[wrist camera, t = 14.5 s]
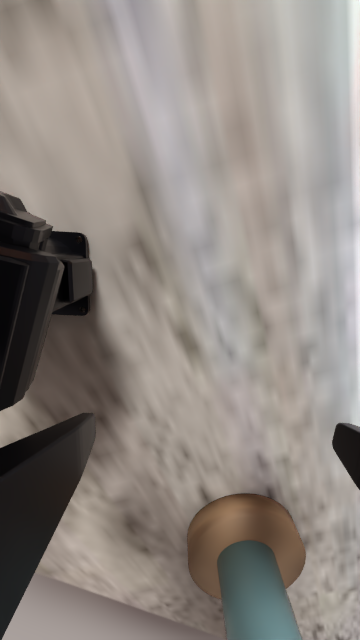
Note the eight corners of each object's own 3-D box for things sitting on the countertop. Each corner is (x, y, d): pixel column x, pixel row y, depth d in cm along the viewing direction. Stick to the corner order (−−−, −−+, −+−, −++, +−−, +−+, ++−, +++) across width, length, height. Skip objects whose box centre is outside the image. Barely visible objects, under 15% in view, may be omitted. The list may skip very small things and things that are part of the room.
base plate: (184, 572, 30) (184, 601, 27) (190, 492, 26) (192, 515, 24) (285, 574, 30) (294, 603, 27) (303, 495, 27) (315, 519, 24)
